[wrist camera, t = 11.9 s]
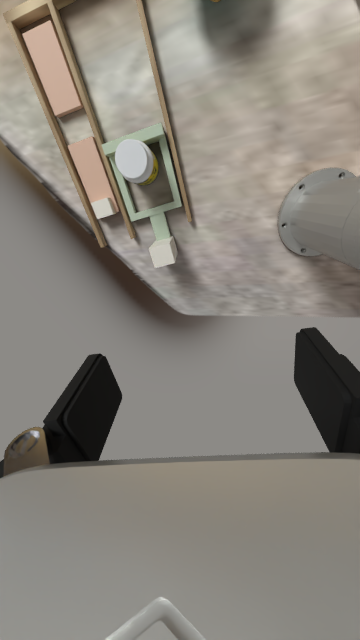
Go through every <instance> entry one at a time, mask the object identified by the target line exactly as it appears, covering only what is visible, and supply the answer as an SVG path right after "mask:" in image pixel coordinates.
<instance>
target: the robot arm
mask: <svg viewBox="0 0 360 640" xmlns="http://www.w3.org/2000/svg"><path fill="white" fill-rule="evenodd" d="M339 174H340V177H339ZM299 186H301V189H299ZM283 223H284V226H283V227H282V224H283ZM278 231H279V236H280V238H281V240H282V242H283V243H284V244H285V246H286V247H287V248H289V249H290V250H291V251H293V252H295V253H297V254H299V255H303V256H318V255H322V254H324V255H327V256H329V257H331V258H333V259H336V260H338V261H340V262H342V263H345V264H347V265H349V266H351V267H354V268H356V269H359V270H360V177H356V176H355V175H354V174H353V173H351V172H349V171H348V170H345V169H341V168H326V169H322V170H318V171H315V172H313V173H311V174H309V175H307V176H305V177H304V178H303V179H301V180H300V181H298V182H297V183H296V184H295V185H294V186H293V187H292V188H291V190H290V191H289V193H288V194H287V195H286V197H285V199H284V201H283V203H282V205H281V208H280V211H279V215H278ZM301 249H302V251H301ZM294 381H295V384H296V386H297V388H298V390H299V392H300V394H301V396H302V398H303V400H304V402H305V404H306V406H307V408H308V410H309V412H310V414H311V416H312V418H313V420H314V422H315V424H316V426H317V428H318V430H319V432H320V434H321V436H322V438H323V440H324V442H325V444H326V446H327V448H328V450H329V453H328V452H327V453H326V452H321V453H274V454H247V455H219V456H193V457H171V458H170V457H169V458H145V459H125V460H103V461H98V460H99V458H100V455H101V453H102V450H103V447H104V445H105V442H106V439H107V437H108V434H109V432H110V429H111V426H112V424H113V421H114V418H115V416H116V413H117V410H118V408H119V405H120V403H121V400H122V393H121V391H120V388H119V386H118V384H117V382H116V379H115V377H114V375H113V372H112V370H111V368H110V365H109V363H108V361H107V359H106V357H105V356H103V355H102V354H93V355H89V356H88V357H87V358H86V360H85V361H84V363H83V364H82V366H81V367H80V369H79V370H78V372H77V373H76V374H75V376H74V377H73V379H72V380H71V382H70V383H69V384H68V386H67V387H66V389H65V390H64V392H63V393H62V395H61V396H60V398H59V399H58V400H57V402H56V404H55V405H54V406H53V408H52V409H51V410H50V412H49V413H48V415H47V416H46V418H45V419H44V421H43V422H44V424H45V425H44V427H43V428H40V427H33V428H30V429H28V430H25V431H24V432H22V433H21V434H19V435H18V436H17V437H16V438H14V439H13V440H12V442H11V443H10V444H9V445H8V447H7V448H6V450H5V454H4V459H3V460H2V461H1V462H0V640H360V372H359V371H358V370H357V369H356V367H355V366H354V365H353V364H352V363H351V362H350V361H349V360H348V359H347V358H346V357H345V356H344V355H342V354H339V353H338V352H337V351H336V350H335V349H334V348H333V347H332V345H331V344H330V343H329V342H328V341H327V340H326V339H325V338H324V336H323V335H322V334H321V333H320V332H319V331H318V330H317V329H316V328H314V327H313V328H305V329H301V330H300V332H299V333H297V334H296V345H295V366H294Z"/></svg>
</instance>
